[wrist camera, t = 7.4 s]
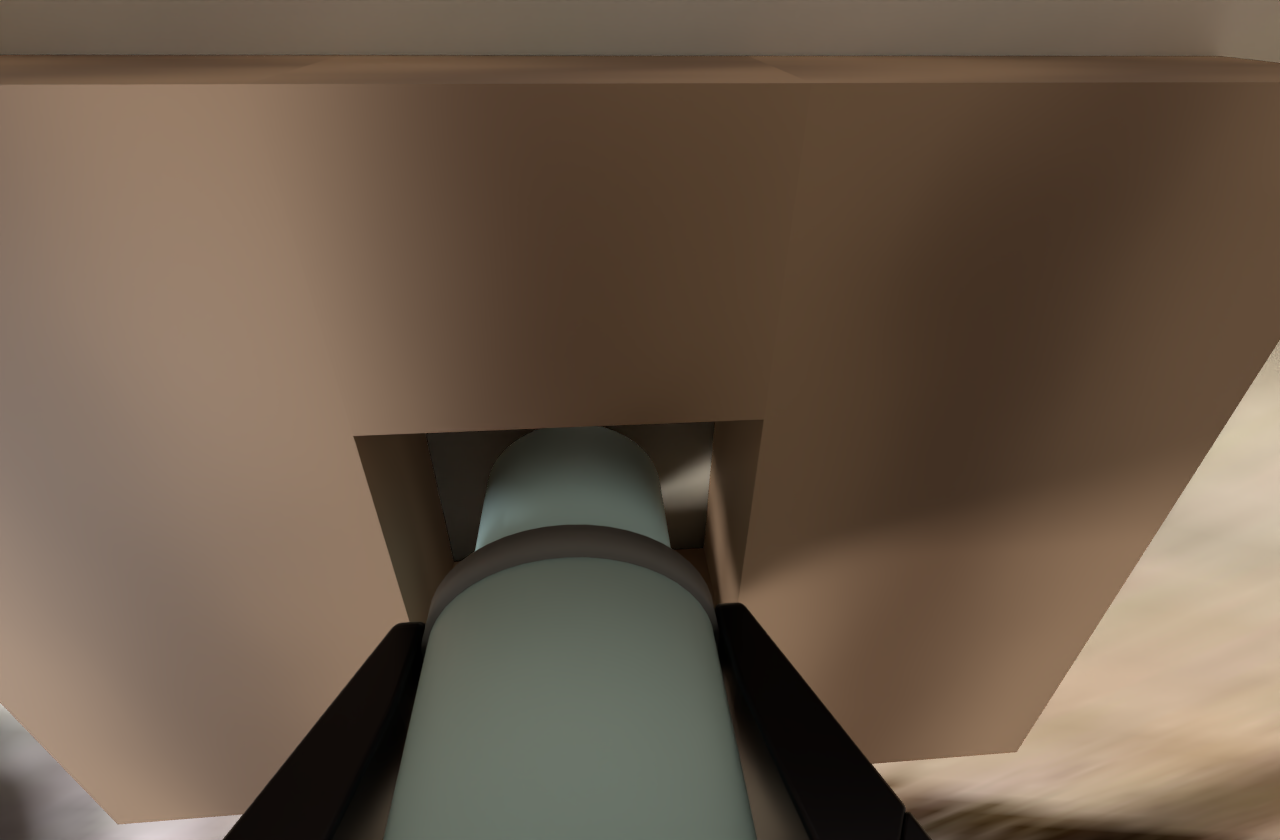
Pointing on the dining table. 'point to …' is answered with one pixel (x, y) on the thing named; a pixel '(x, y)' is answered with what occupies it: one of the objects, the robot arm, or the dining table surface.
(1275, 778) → the dining table surface
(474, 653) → the stepped peg
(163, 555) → the socket board
